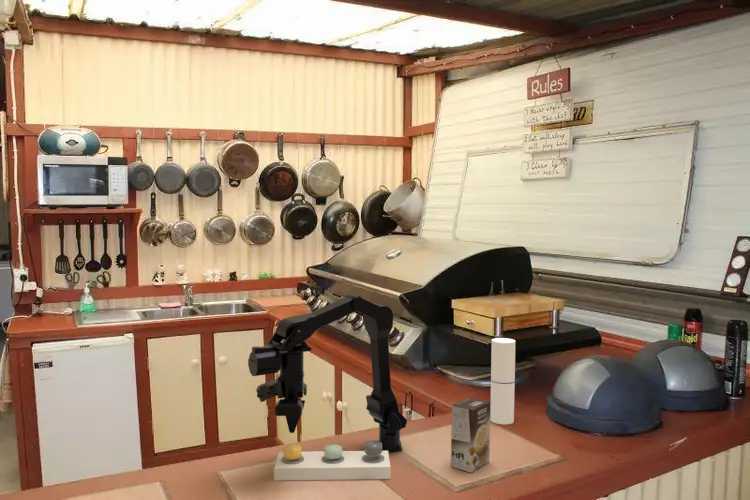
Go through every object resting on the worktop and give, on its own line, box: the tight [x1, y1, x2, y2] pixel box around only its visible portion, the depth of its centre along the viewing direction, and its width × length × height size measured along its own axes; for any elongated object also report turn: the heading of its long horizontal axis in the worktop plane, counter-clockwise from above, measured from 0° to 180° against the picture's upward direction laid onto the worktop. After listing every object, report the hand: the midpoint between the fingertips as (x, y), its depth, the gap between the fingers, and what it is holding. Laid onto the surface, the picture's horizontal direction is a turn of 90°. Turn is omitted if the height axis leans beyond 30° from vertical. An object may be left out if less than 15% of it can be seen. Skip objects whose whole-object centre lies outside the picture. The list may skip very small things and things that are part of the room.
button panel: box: [273, 450, 391, 482], centre depth 154 cm, size 10×28×3 cm, turn 92°
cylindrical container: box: [490, 337, 516, 425], centre depth 190 cm, size 7×7×25 cm
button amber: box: [283, 444, 303, 460], centre depth 153 cm, size 4×4×2 cm
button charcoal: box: [363, 440, 382, 455], centre depth 154 cm, size 4×4×2 cm
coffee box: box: [450, 397, 491, 473], centre depth 158 cm, size 9×6×16 cm
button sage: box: [323, 443, 343, 459], centre depth 154 cm, size 4×4×2 cm
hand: (291, 432), depth 153 cm, fingers closed
